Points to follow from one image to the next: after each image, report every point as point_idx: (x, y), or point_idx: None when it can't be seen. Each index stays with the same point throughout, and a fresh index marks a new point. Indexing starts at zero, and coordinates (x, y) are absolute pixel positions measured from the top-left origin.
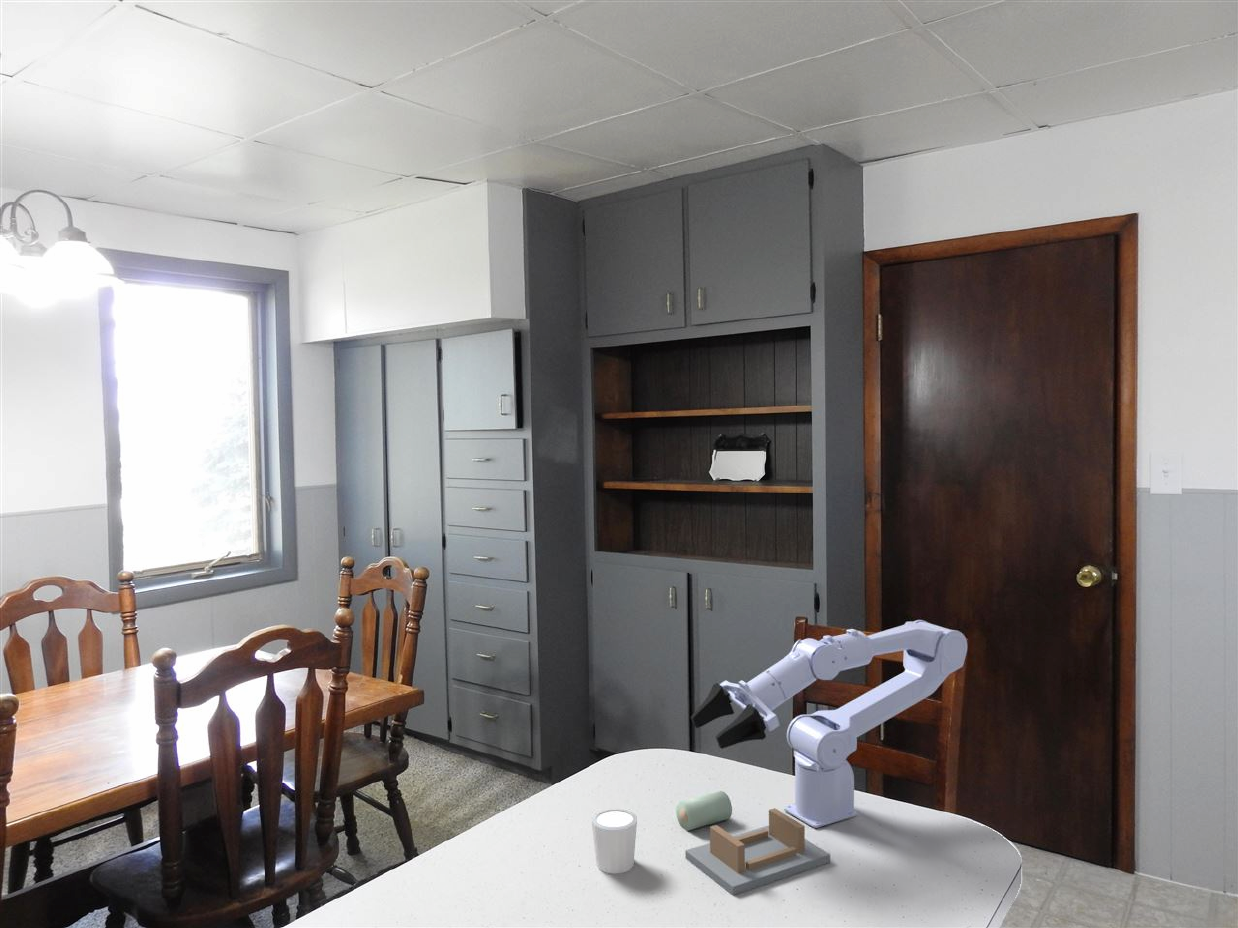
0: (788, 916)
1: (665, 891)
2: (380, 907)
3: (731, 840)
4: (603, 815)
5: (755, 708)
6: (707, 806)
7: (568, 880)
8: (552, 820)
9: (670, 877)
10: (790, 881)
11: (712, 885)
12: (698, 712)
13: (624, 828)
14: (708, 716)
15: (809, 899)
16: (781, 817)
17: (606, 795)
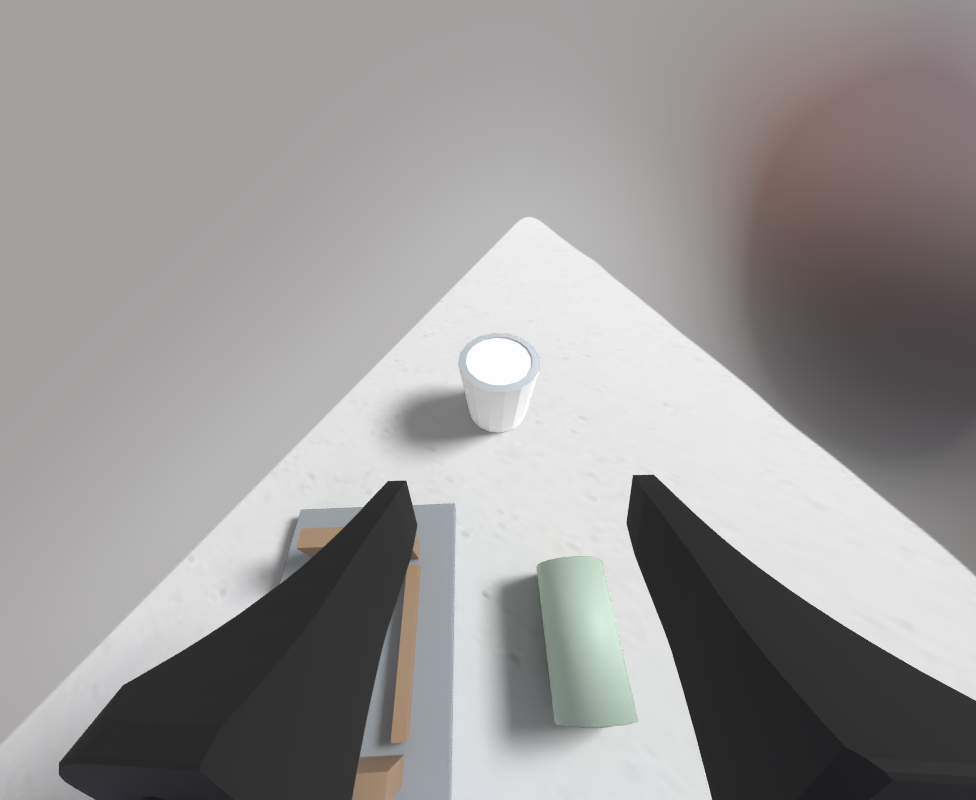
0: (187, 563)
1: (389, 433)
2: (523, 235)
3: (331, 531)
4: (521, 353)
5: (79, 762)
6: (556, 623)
7: None
8: (665, 386)
9: (416, 456)
10: None
11: (353, 502)
12: (649, 498)
13: (459, 360)
14: (662, 590)
15: (176, 647)
16: None
17: (762, 498)
